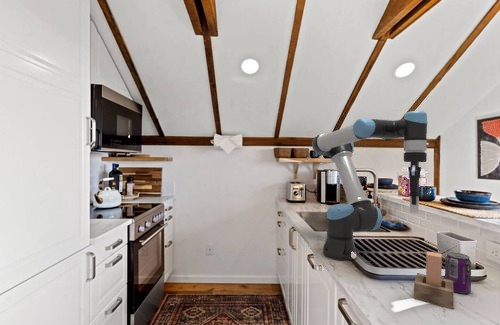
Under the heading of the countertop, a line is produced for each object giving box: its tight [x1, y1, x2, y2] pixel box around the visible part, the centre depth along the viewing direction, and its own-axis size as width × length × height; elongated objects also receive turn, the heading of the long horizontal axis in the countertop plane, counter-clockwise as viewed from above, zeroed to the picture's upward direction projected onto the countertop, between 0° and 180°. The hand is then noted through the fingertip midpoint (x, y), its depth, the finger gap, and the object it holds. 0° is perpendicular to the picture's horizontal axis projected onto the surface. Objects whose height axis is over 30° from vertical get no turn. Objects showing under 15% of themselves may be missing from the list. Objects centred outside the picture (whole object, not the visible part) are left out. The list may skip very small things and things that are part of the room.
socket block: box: [413, 272, 455, 310], centre depth 86 cm, size 10×10×5 cm
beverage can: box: [444, 251, 472, 294], centre depth 91 cm, size 7×7×12 cm
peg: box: [425, 251, 443, 287], centre depth 86 cm, size 4×4×14 cm
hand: (414, 212), depth 102 cm, fingers closed
